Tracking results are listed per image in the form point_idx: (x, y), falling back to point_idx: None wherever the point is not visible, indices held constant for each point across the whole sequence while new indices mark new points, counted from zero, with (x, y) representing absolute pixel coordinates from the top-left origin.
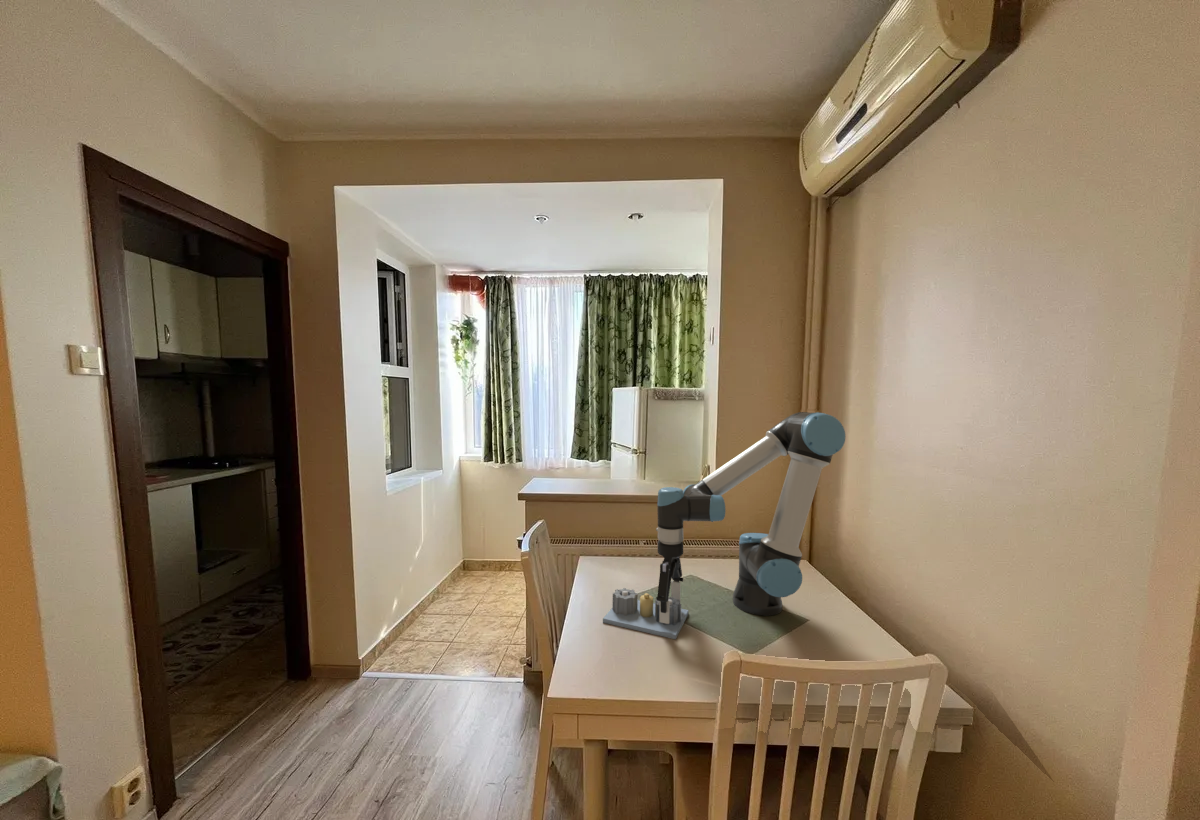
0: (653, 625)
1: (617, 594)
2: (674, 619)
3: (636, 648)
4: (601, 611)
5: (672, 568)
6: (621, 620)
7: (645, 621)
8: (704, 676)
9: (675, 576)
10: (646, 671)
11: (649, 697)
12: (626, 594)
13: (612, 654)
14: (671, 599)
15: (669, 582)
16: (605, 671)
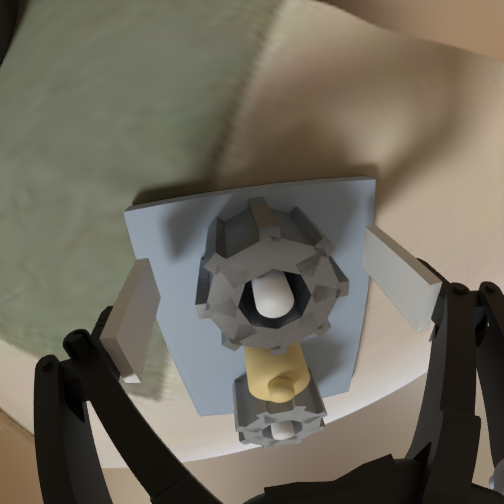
0: None
1: (301, 435)
2: (311, 220)
3: (435, 264)
4: None
5: (463, 492)
6: (344, 362)
7: None
8: (473, 66)
9: (131, 401)
10: (494, 203)
11: None
12: (289, 426)
13: None
14: (229, 301)
15: (473, 374)
16: (496, 273)
